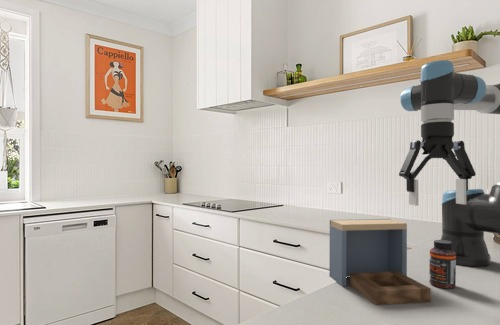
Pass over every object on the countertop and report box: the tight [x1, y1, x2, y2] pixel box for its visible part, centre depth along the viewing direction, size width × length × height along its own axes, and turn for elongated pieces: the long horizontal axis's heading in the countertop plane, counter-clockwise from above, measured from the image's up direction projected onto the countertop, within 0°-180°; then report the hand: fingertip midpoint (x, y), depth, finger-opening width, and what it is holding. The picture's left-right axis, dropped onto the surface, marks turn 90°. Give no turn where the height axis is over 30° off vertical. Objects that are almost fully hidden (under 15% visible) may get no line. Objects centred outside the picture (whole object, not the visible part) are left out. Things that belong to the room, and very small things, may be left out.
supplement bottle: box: [428, 239, 457, 289], centre depth 89 cm, size 6×6×11 cm
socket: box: [349, 271, 431, 306], centre depth 83 cm, size 13×13×3 cm
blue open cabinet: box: [328, 218, 408, 287], centre depth 93 cm, size 18×8×16 cm, turn 99°
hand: (437, 204), depth 89 cm, fingers open, 13 cm apart
